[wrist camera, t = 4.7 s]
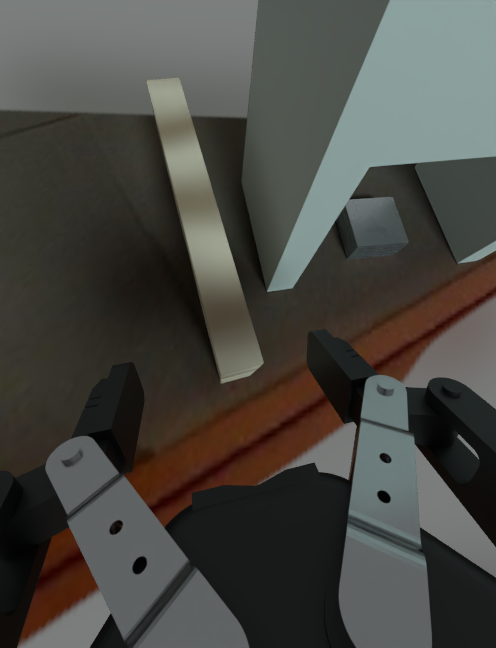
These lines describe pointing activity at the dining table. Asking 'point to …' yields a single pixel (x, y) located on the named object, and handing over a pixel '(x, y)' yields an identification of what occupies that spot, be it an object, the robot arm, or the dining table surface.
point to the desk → (368, 118)
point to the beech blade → (204, 236)
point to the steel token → (371, 228)
